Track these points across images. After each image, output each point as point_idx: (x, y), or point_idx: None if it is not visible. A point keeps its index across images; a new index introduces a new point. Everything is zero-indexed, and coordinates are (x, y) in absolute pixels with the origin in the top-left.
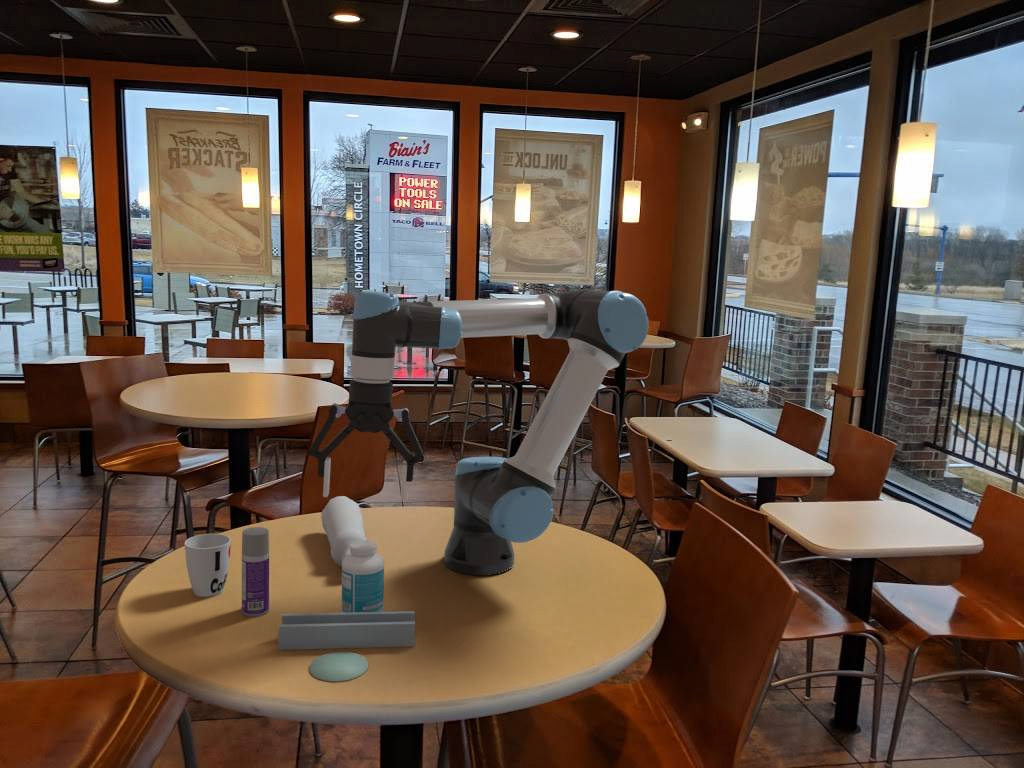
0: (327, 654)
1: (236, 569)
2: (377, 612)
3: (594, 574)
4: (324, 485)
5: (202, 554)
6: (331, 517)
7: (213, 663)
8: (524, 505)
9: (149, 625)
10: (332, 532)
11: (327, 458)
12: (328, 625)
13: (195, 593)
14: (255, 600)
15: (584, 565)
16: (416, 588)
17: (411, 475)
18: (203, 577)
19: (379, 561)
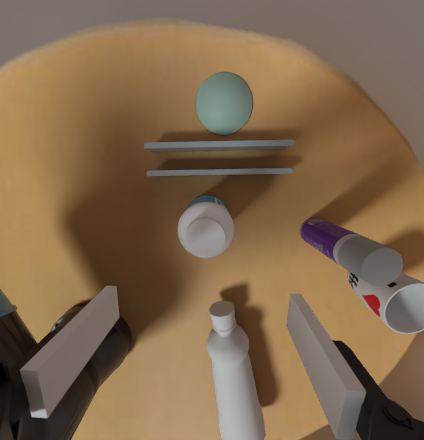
0: (236, 129)
1: (337, 324)
2: (188, 173)
3: None
4: (311, 314)
5: (411, 279)
6: (254, 410)
7: (344, 118)
8: None
9: (410, 202)
10: (250, 374)
11: (351, 427)
12: (240, 141)
13: None
14: (320, 221)
15: None
16: (156, 277)
17: (43, 342)
18: None
19: (182, 221)
